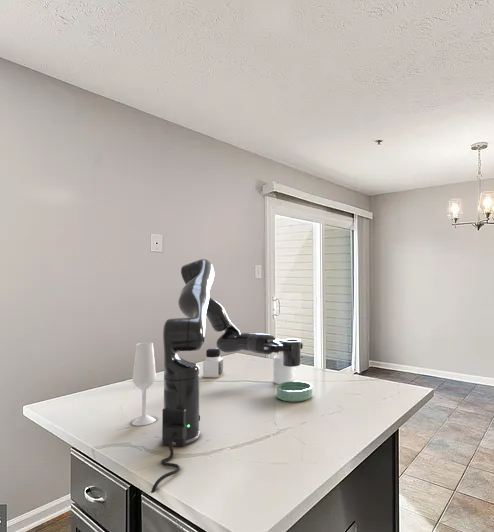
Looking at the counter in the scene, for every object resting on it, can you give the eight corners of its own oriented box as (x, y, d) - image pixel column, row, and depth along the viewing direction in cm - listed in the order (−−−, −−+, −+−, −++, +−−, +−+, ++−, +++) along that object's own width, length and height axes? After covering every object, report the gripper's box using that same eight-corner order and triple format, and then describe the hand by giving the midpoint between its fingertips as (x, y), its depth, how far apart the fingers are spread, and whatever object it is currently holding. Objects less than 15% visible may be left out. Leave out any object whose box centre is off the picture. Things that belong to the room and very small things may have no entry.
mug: (303, 379, 163) (303, 355, 163) (283, 386, 154) (283, 359, 154) (289, 376, 169) (289, 352, 169) (269, 382, 160) (269, 356, 160)
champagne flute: (143, 426, 113) (144, 346, 113) (126, 423, 115) (127, 344, 116) (160, 418, 119) (161, 342, 120) (144, 416, 122) (144, 341, 122)
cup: (298, 367, 137) (298, 342, 137) (281, 366, 138) (281, 341, 138) (301, 362, 143) (301, 339, 143) (285, 362, 144) (285, 338, 144)
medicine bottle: (218, 377, 167) (218, 350, 168) (202, 377, 167) (202, 350, 168) (223, 373, 174) (223, 347, 175) (207, 373, 174) (207, 347, 175)
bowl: (308, 403, 133) (308, 392, 133) (272, 401, 135) (272, 390, 135) (315, 392, 146) (315, 381, 146) (281, 390, 148) (281, 380, 148)
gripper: (249, 336, 141) (286, 340, 133) (271, 331, 154) (307, 334, 146) (249, 356, 141) (286, 361, 133) (271, 349, 154) (307, 354, 146)
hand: (297, 347), depth 140 cm, fingers closed on cup, 6 cm apart
